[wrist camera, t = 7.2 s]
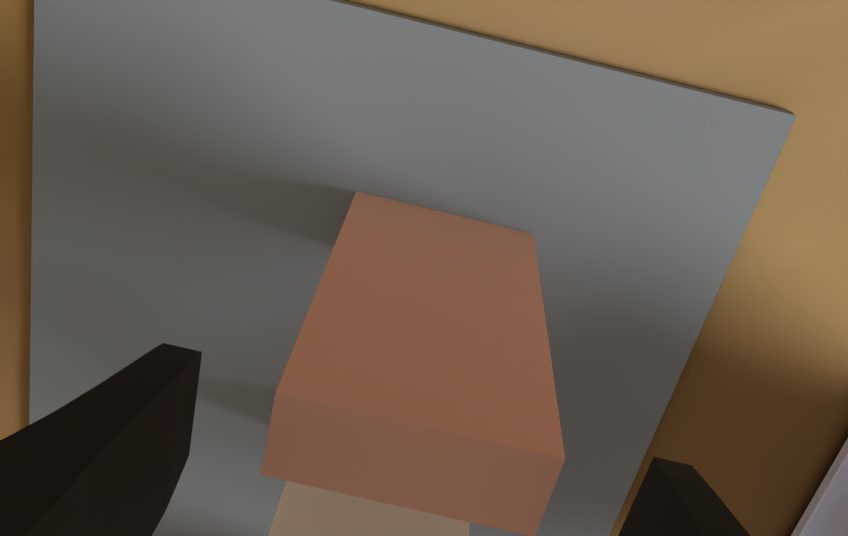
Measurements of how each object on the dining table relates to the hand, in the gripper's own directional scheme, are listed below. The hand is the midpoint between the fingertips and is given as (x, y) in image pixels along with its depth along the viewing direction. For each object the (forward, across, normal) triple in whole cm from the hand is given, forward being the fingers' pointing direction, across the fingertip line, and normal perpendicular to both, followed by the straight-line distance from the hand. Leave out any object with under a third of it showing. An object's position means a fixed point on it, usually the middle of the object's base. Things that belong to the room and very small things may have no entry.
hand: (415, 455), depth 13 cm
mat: (+8, +2, +12) cm, 15 cm away
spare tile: (+8, 0, 0) cm, 8 cm away
